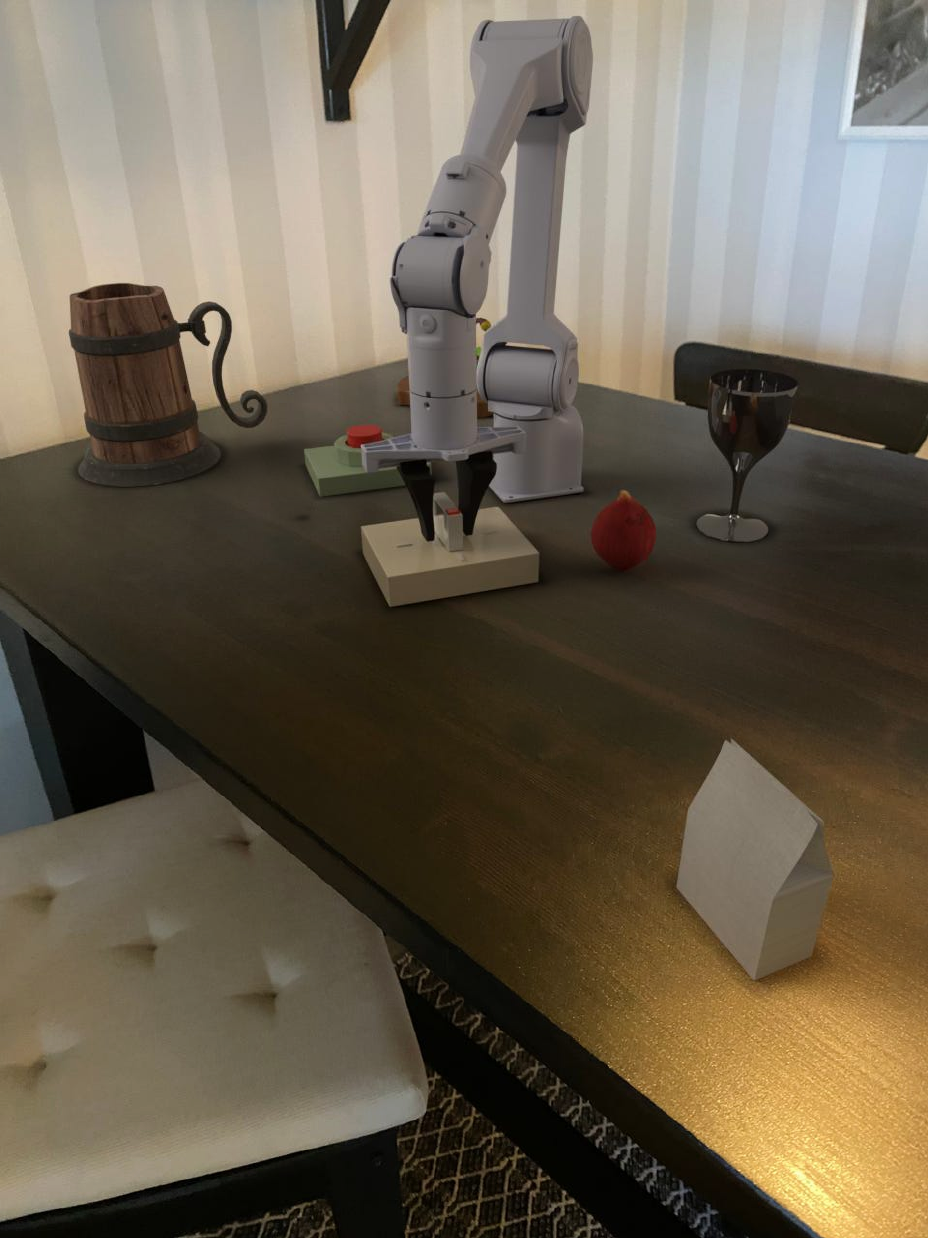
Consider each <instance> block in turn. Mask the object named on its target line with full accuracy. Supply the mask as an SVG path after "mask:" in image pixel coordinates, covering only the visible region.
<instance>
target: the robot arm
mask: <svg viewBox="0 0 928 1238" xmlns="http://www.w3.org/2000/svg"><path fill="white" fill-rule="evenodd" d="M593 51H594V50H593V45H592V36H591V31H590V28H589V26H588V24H587V23H586V22H585V20H584V18H583V16H581V15H572V16H571V17H569V18H548V19H544V18H543V19H527V20H526V19H525V20H524V19H523V20H522V19H521V20H501V21H494V20H493V19H484V20H482V21H481V22H480V23H479V24H478V25H477V27H476V30H475V32H474V33H473V36H472V39H471V43H470V49H469V72H470V78H471V82H472V89H473V93H474V100H473V104H472V109H471V111H470V116H469V118H468V123H467V127H466V131H465V134H464V137H463V138H464V139H463V142H462V146H461V149H460V153H459V154H458V155H457V154H456V155H454V156H451V157H450V158H448V159H447V160H445V162H444V163H443V164H442V165H441V168H440V171H439V174H438V176H437V179H436V181H435V183H434V186H433V189H432V192H431V194H430V197H429V200H428V202H427V204H426V206H425V207H426V208H425V210H424V213H423V215H422V219H421V221H420V224H419V226H418V229H417V232H416V234H414V235H410V237H408V238H407V239H406V240H405V241H403V242H401V243H400V244H399V245H398V247H397V248H396V249H395V252H394V255H393V259H392V264H391V276H390V278H389V284H390V285H389V287H390V291H391V295H392V299H393V301H394V304H395V306H396V308H397V311H398V320H399V328H400V329H401V333H404V334H405V335H406V345H407V369H408V376H409V388H410V406H409V408H410V427H411V429H410V432H411V433H407V434H402V435H399V436H395V437H394V438H391V439H387V440H384V441H380V442H375V443H370V444H363V445H361V455H362V466H363V467H364V469H365V471H366V472H367V473H373V472H378V471H379V469H381V468H389V467H396V468H397V470H398V471H399V473H400V475H401V477H402V479H403V481H404V483H405V487H406V489H407V491H408V493H409V496H410V498H411V500H412V503H413V506H414V509H415V511H416V515H417V518H418V519H419V523H420V527H421V533H422V535H423V537H424V538H425V540H426V541H427V542H429V541H434V539H435V527H434V516H433V497H434V493H435V486H436V478H435V477H434V476H433V474H432V475H431V474H430V467H428V466H427V463H428V462H430V463H435V462H442V461H445V462H449V463H451V462H455V467H456V469H455V470H456V476H457V489H458V506H457V508H458V509H459V510H460V512H461V513H462V517H463V533H464V534H465V536H469V535H473V529H474V524H475V520H476V517H477V513H478V510H479V509H480V507H481V504H482V501H483V498H484V497H485V494H486V492H487V490H488V489H489V488H490V490H492V491H493V493H494V494H495V495H496V496H497V497H498V498H499V499H500V501H502V503H504V504H508V503H509V504H510V503H515V502H516V503H517V502H524V501H530V500H537V499H545V498H551V497H552V498H553V497H559V496H565V495H572V494H579V493H583V492H584V487H583V486H582V473H583V472H582V471H583V469H582V468H583V455H584V454H583V451H584V427H583V421H582V418H581V415H580V413H579V411H578V409H577V408H576V407H575V406H574V405H572V404H573V403H574V400H575V398H576V395H577V390H578V385H579V378H580V377H579V376H580V367H579V358H578V355H579V354H578V353H579V352H578V351H579V343H578V338H577V336H576V335H575V334H574V332H573V331H572V330H571V329H570V328H568V327H567V325H565V323H563V321H561V320H560V319H559V317H557V316H556V314H555V302H556V291H557V290H556V289H557V277H558V267H559V265H558V264H559V253H560V241H561V228H562V217H563V203H564V194H565V193H564V192H565V191H564V190H565V179H566V168H567V167H566V165H567V157H568V149H569V144H570V138H571V134H572V133H574V132H575V131H578V130H579V129H580V128H582V127H584V126H586V124H587V115H588V112H589V108H590V102H591V101H590V100H591V98H590V97H591V88H592V79H593V78H592V76H593V66H594V52H593ZM515 143H516V160H515V174H514V175H515V176H514V190H513V192H514V193H513V206H512V207H513V208H512V224H511V240H510V253H509V255H510V257H509V272H508V273H509V274H508V289H507V301H506V302H507V305H506V314H505V316H503V317H502V318H500V319H499V320H498V321H497V322H496V323H494V324H493V325H491V327H490V328H489V329H488V330H487V331H486V332H485V331H484V333H483V337H482V343H481V349H482V350H481V355H480V358H479V361H478V365H477V370H476V348H477V324H476V318H477V313H478V312H480V310H481V308H482V306H483V304H484V302H485V300H486V297H487V292H488V288H489V276H490V275H489V273H490V266H491V262H492V254H493V253H492V251H491V248H490V242H491V240H492V236H493V235H494V234H493V233H494V232H495V228H496V226H497V222H498V219H499V217H500V214H501V211H502V209H503V205H504V202H505V199H506V196H507V184H506V180H505V178H504V176H503V174H502V170H503V168H504V166H505V164H506V161H507V159H508V157H509V155H510V153H511V150H512V148H513V146H514V144H515ZM508 343H509V344H511V343H513V344H521V345H522V344H523V345H534V346H544V347H547V348H541V347H529V346H520V345H519V346H518V345H508ZM477 389H478V392H479V394H480V396H481V398H482V400H483V401H484V402H486V403H488V411H489V412H494V415H493V426H478V418H477Z"/></svg>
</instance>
